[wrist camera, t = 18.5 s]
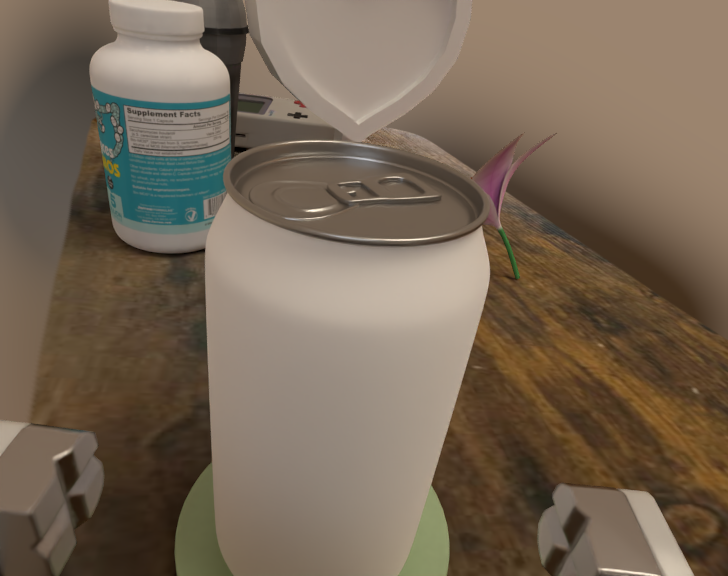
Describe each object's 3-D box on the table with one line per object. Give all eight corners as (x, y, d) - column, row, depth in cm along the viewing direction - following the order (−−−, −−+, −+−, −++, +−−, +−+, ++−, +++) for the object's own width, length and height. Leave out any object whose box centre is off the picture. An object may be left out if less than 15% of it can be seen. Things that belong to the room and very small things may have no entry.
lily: (510, 237, 43) (478, 124, 40) (633, 250, 32) (603, 97, 29) (390, 300, 39) (346, 180, 36) (485, 338, 29) (434, 173, 26)
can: (193, 479, 18) (167, 137, 12) (354, 424, 21) (402, 131, 15) (256, 671, 13) (268, 279, 7) (450, 566, 16) (580, 227, 10)
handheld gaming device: (341, 164, 50) (345, 125, 48) (187, 145, 49) (185, 104, 47) (343, 140, 58) (346, 105, 56) (210, 123, 57) (209, 87, 55)
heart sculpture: (254, 216, 38) (259, -82, 28) (241, 190, 42) (241, -81, 32) (436, 207, 44) (489, -42, 34) (409, 184, 48) (451, -45, 38)
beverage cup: (255, 169, 46) (258, -109, 36) (239, 200, 40) (238, -125, 29) (172, 159, 46) (150, -126, 35) (143, 190, 39) (107, -146, 29)
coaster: (494, 535, 18) (499, 525, 18) (309, 781, 12) (310, 772, 12) (319, 398, 23) (320, 388, 23) (120, 526, 17) (118, 515, 17)
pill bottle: (125, 206, 37) (96, -12, 29) (232, 210, 38) (230, 5, 31) (102, 258, 30) (59, -1, 23) (231, 260, 32) (228, 18, 25)
